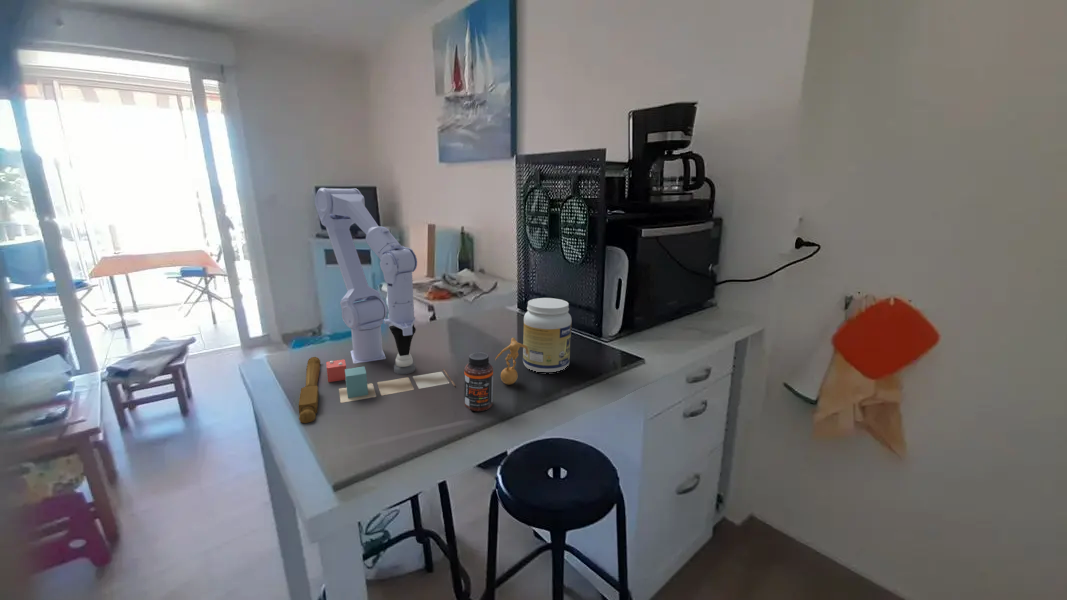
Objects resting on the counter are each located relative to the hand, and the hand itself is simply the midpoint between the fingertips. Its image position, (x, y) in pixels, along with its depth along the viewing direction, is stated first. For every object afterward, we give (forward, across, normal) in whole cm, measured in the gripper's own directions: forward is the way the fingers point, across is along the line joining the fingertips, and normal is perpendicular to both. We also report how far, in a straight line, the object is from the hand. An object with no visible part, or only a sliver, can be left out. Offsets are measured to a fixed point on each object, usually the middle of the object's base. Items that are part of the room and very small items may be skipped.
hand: (403, 354), depth 104 cm
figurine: (+5, +17, +21) cm, 27 cm away
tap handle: (+5, +2, -20) cm, 21 cm away
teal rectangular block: (+4, +8, -12) cm, 15 cm away
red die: (+5, -2, -15) cm, 16 cm away
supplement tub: (+5, +10, +34) cm, 36 cm away
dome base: (+5, 0, 0) cm, 5 cm away
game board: (+5, +8, -4) cm, 10 cm away
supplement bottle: (+5, +23, +11) cm, 26 cm away
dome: (+2, 0, 0) cm, 2 cm away
